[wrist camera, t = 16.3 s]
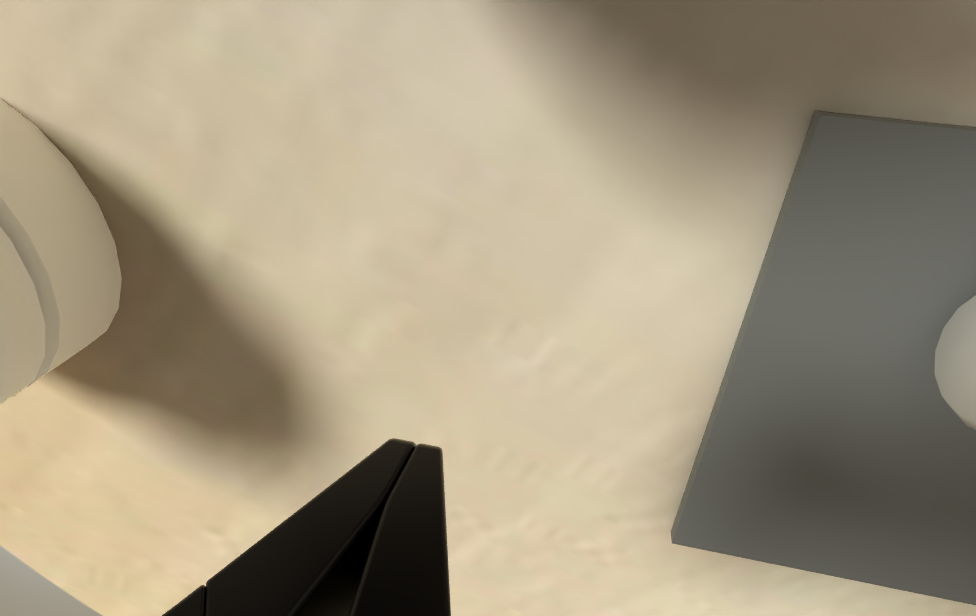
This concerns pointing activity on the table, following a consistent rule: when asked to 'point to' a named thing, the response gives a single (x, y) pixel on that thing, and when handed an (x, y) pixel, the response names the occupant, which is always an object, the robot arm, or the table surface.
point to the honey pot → (48, 258)
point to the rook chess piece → (959, 362)
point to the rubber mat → (851, 371)
